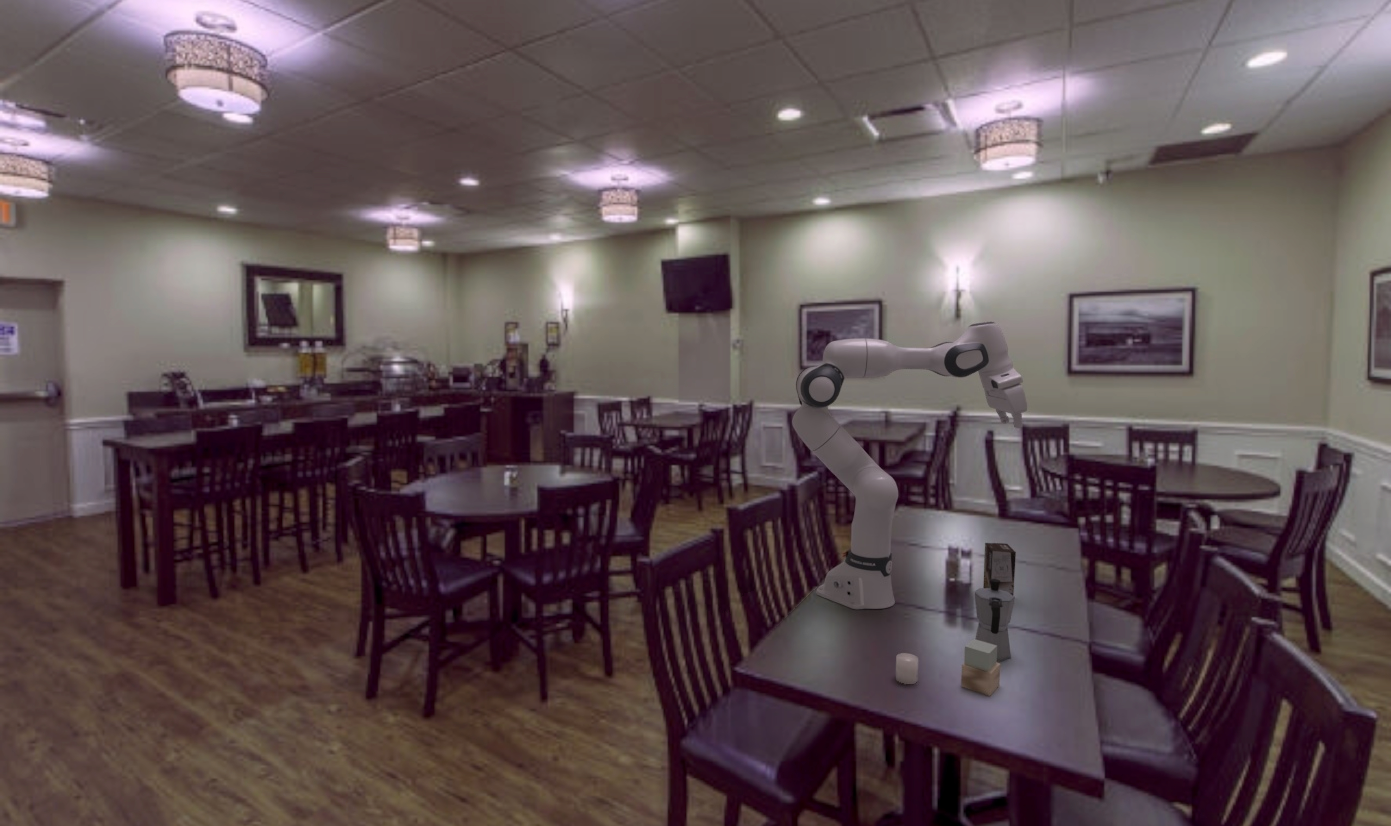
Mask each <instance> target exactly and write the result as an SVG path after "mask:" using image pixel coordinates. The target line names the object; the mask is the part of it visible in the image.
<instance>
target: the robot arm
mask: <svg viewBox="0 0 1391 826" xmlns="http://www.w3.org/2000/svg"><path fill="white" fill-rule="evenodd" d="M821 361H822V362H820V364H819V365H816V366H813V365H812V366H808V367H807V368H804V369H803V370H802V371H800V373H799V374H798V376H797V378H796V382H795V390H796V393H797V396H798V400H799V404H800V406H799V408H797V410H796V411H795V413H794V414H793V417H792V418H791V419H792V421H791V425H792V427H793V429H794V431H795V433H796V434H797V436H798V437H799V438H800V439H801V441H802V442H803V443H804V445H805V446H806V447H807V448H808V449H809V450H810V451H811V452H812V453H813V455H815V457H817V458H818V459H819V460H820V461H821V463H822V464H823V465H824V466H825V467H826V468H827V469H828V470H829V471H830V472H831V473H832V474H833V475H835V477H836V478H837V480H839V481H840V482H841V483H842V484H843V485H844V486H845V487H846V488H847V489H848V490H849V491H850V492H851V493H852V495H853V496H854V497H855V507H854V514H853V519H852V522H851V531H850V532H851V534H850V536H851V537H850V539H851V540H850V549H847V550H846V551H845V552H843V553H842V558H844V557H845V560H844V561H843V562H841V563H840V564H837V565H836V566H835V567H833V568H831V569H830V570H829V571H828V572H827V574H826V576H825V579H824V583H823V584H821V585H819V586H818V587H817V588H816V595H817V596H819V597H822V598H825V599H827V600H830V601H832V602H835V603H837V604H840V605H842V606H845V607H847V608H849V609H852V610H864V609H867V610H868V609H869V610H870V609H871V610H875V609H876V610H879V609H886V608H887V609H888V608H890V607H893V606H894V605H895V603H896V600H895V597H894V596H895V595H894V592H893V586H892V576H891V575H892V572H893V571H892V570H893V569H892V568H893V554H892V552H891V546H892V544H891V543H892V526H893V520H894V515H895V511H896V510H895V509H896V504H897V502H898V498H899V489H898V485H897V482H896V481H895V479H894V478H893V476H892V475H890V474H889V473H888V472H886V471H885V470H884V469H883V468H881V467H880V465H878V464H877V462H875V460H874V459H873V458H872V457H871V456H870V455H869V454H868V453H867V452H866V451H865V450H864V448H863V447H862V446H861V444H859V442H857V441H856V439H854V437H853V436H852V435H851V434H850V433H849V432H848V431H847V430H846V429H845V427H843V426H842V425H841V423H839V422H838V421H837V420H836V419H835V417H834V416H832V414H831V413H830V411H829V407H828V406H831V405H832V404H834V402H836V400H837V399H838V397H839V396H840V393H841V389H842V386H843V384H844V381H845V379H850V378H851V379H852V378H853V379H855V378H858V379H863V378H864V379H870V378H871V379H872V378H875V379H876V378H881V377H886V376H889V375H890V374H892V373H894V372H895V371H899V370H926V371H927V370H928V371H931V372H933V373H934V374H937V375H939V376H943V377H953V378H959V379H961V378H966V377H969V376H971V375H972V374H974V373H977V372H978V375H979V379H980V382H981V386H982V388H983V390H984V391H983V392H984V393H985V394H984V395H985V399H986V402H987V405H988V407H989V408H991V409H995V412H996V414H997V415H998V418H999V419H1000V423H1001V424H1008V423H1010V419H1009V416H1008V414H1011V417H1012V419H1013V420H1012V424H1013V427H1014V428H1015V429H1019V428H1023V426H1024V425H1023V421H1022V419H1023V417H1022V416H1023V415H1022V414H1023V413H1024V412H1027V410H1028V403H1027V398H1026V394H1025V389H1024V387H1023V385H1022V383H1023V382H1024V381H1023V377H1022V375H1021V374H1020V373H1019V372H1017V370H1016V369H1015V367H1014V365H1013V362H1012V360H1011V358H1010V355H1009V348H1008V344H1007V341H1006V338H1005V336H1004V333H1003V331H1002V329H1001V327H1000V325H999V323H996V322H995V321H986V322H985V321H984V322H978V323H973V324H970V325H968V327H967V328H966V330H965V332H963V334H962V335H960V337H958V338H957V339H956V340H955V341H944V342H941V343H938V344H935V345H933V346H931V347H904V346H903V347H901V346H899V345H898V346H897V345H895V344H893V343H891V342H890V341H886V340H884V339H878V338H877V339H876V338H860V337H859V338H845V339H844V338H843V339H838V340H833V341H831V342H829V343H828V344H827V345H826V346H825V349H824V350H823V354H822V360H821ZM1007 413H1008V414H1007Z"/></svg>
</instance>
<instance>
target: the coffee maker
mask: <svg viewBox="0 0 1391 826" xmlns="http://www.w3.org/2000/svg"><path fill="white" fill-rule="evenodd" d="M999 585H1000V580H998V579H990V586H991V588H982V587H981V588H980V587H979V588H978V589H977V590H975V591H973V592H974V598H975V599H974V600H975V609H976V611H975V612H976V618H977V619H978V624H977V629H976V634H975V638H974V639H976V640H979V641H983V642H986V643H990V644H993V645H997V662H1003V661H1007V660H1011V659H1012V655H1011V648H1010V647H1011V646H1010V638H1009V630H1008V629H1009V628H1008V627H1009V626H1008V624H1010V623H1011V621H1012V614H1013V609H1014V604H1015V599H1016V597H1015V596H1014V595H1011V594H1010V593H1009V592H1007V591H1003V590H999Z"/></svg>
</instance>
